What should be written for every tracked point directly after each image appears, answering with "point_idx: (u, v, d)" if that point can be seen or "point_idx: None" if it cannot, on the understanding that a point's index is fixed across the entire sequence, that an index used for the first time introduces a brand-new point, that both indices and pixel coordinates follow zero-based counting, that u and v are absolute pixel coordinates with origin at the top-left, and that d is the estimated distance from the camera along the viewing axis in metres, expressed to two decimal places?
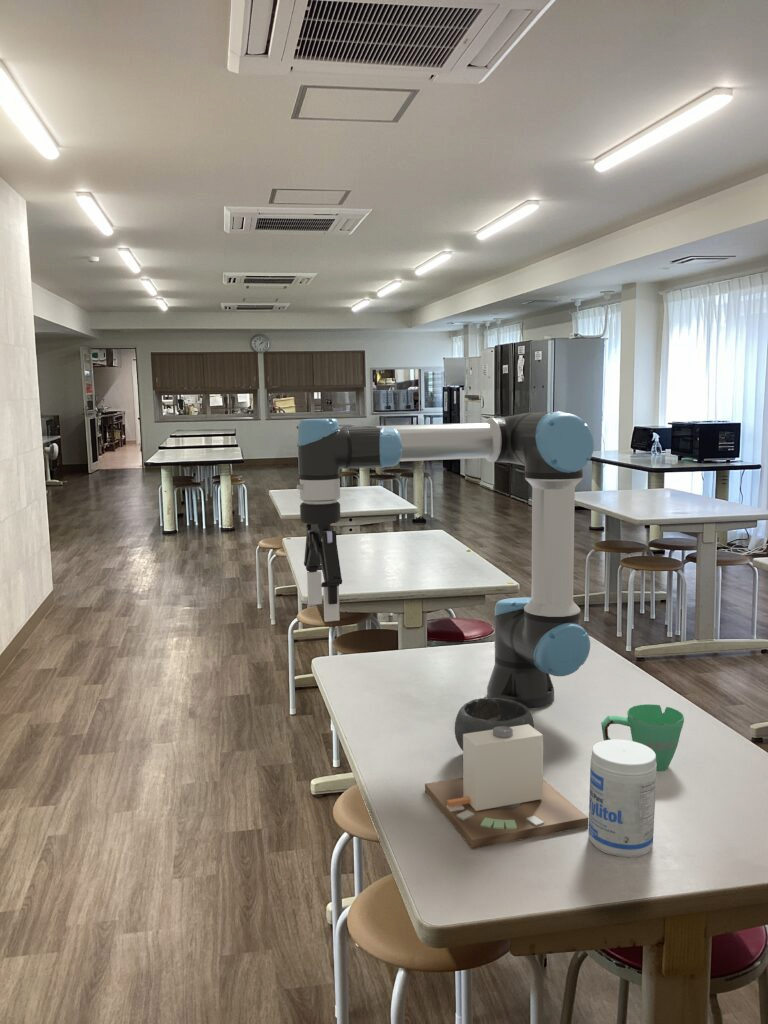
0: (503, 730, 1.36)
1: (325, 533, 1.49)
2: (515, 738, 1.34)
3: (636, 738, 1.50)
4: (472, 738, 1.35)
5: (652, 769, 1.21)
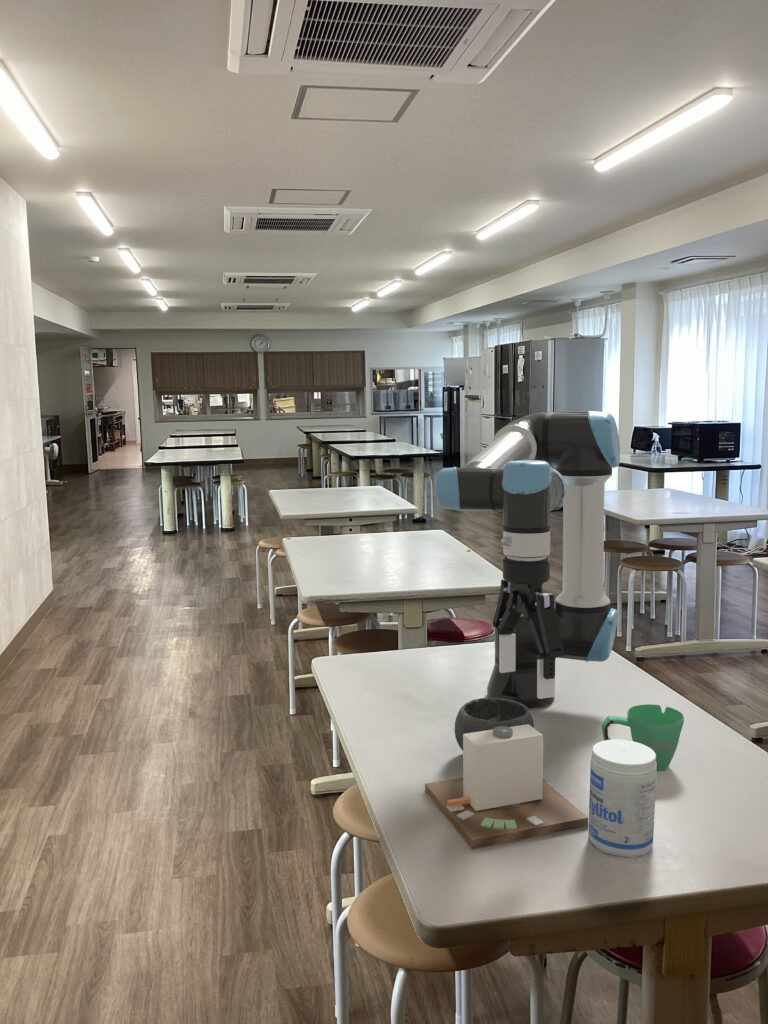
0: (503, 730, 1.36)
1: (542, 596, 1.28)
2: (515, 738, 1.34)
3: (636, 738, 1.50)
4: (472, 738, 1.35)
5: (652, 769, 1.21)
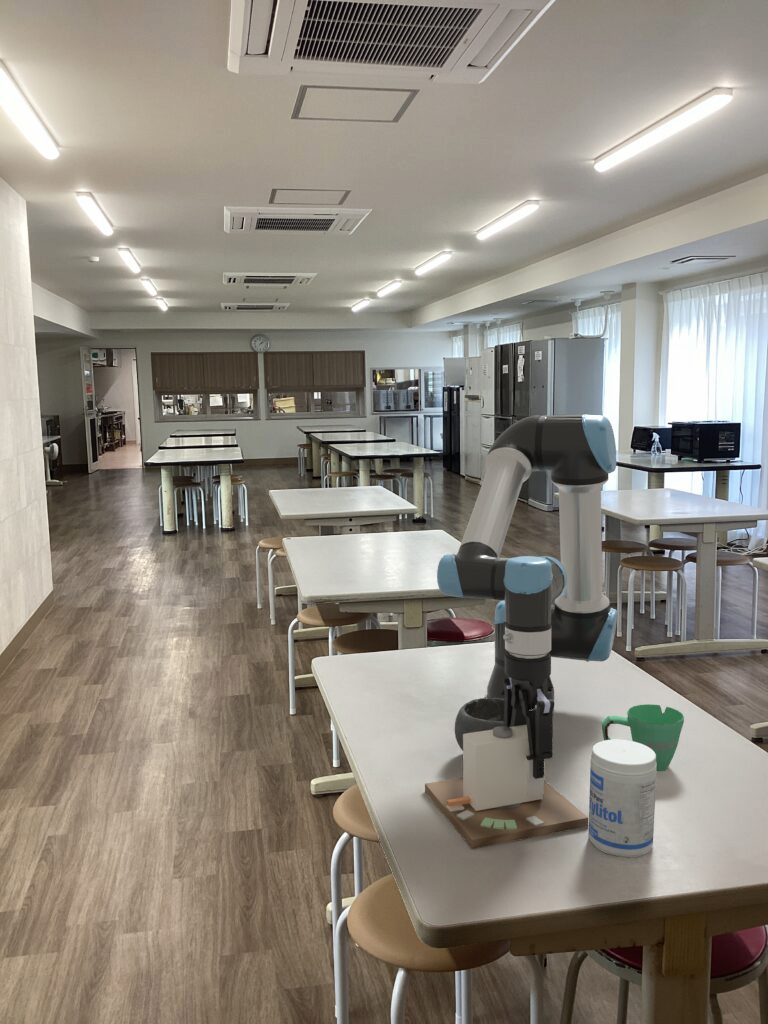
0: (503, 730, 1.36)
1: (543, 705, 1.30)
2: (515, 738, 1.34)
3: (636, 738, 1.50)
4: (472, 738, 1.35)
5: (652, 769, 1.21)
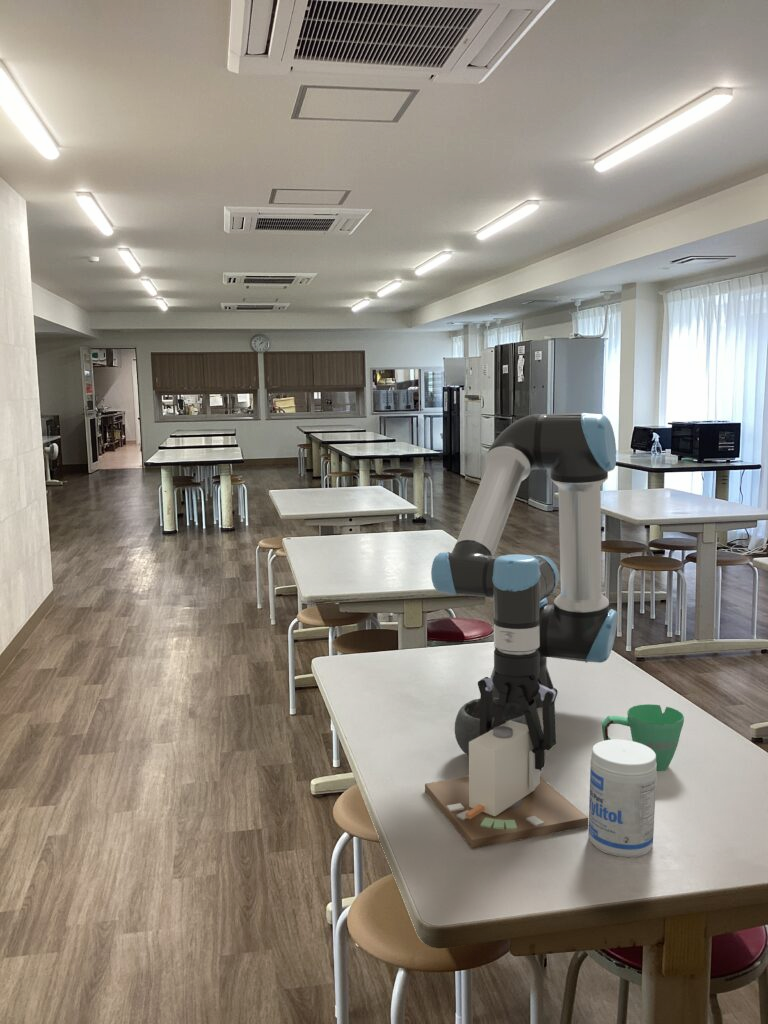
0: (504, 730, 1.36)
1: (553, 695, 1.34)
2: (517, 735, 1.36)
3: (636, 738, 1.50)
4: (483, 744, 1.32)
5: (652, 769, 1.21)
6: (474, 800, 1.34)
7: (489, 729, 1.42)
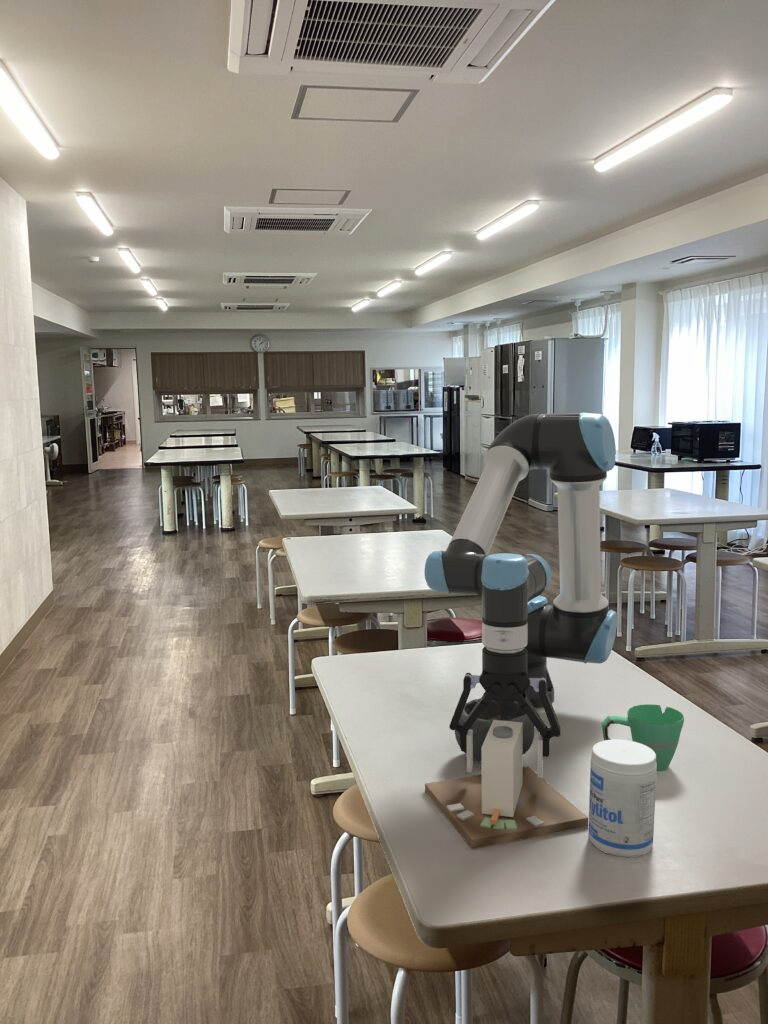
0: (504, 730, 1.36)
1: (545, 682, 1.37)
2: (516, 732, 1.37)
3: (636, 738, 1.50)
4: (496, 747, 1.31)
5: (652, 769, 1.21)
6: (488, 805, 1.32)
7: (457, 722, 1.42)
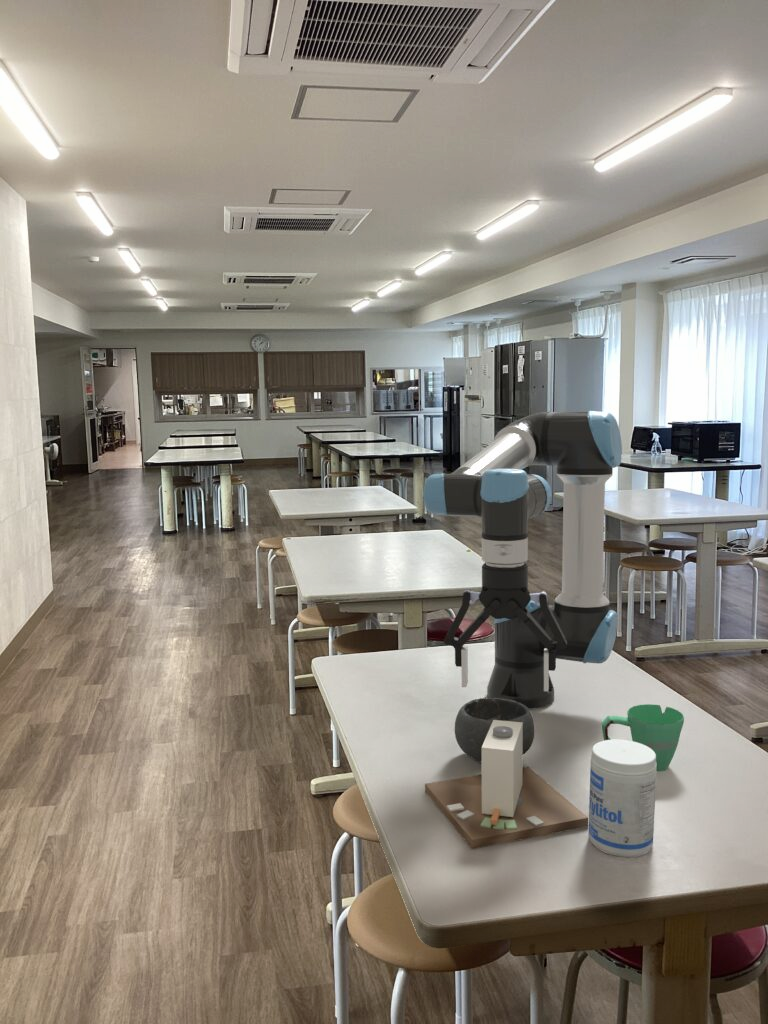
0: (504, 730, 1.36)
1: (545, 595, 1.35)
2: (516, 732, 1.37)
3: (636, 738, 1.50)
4: (496, 747, 1.31)
5: (652, 769, 1.21)
6: (488, 805, 1.32)
7: None
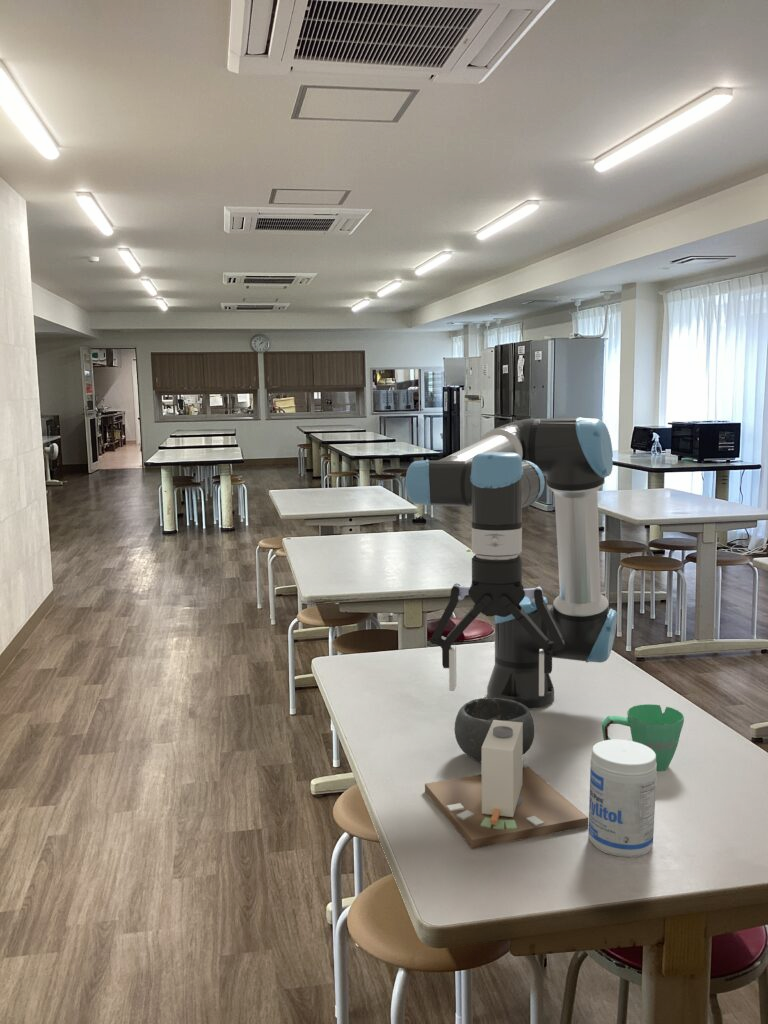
0: (504, 730, 1.36)
1: (541, 590, 1.24)
2: (516, 732, 1.37)
3: (636, 738, 1.50)
4: (496, 747, 1.31)
5: (652, 769, 1.21)
6: (488, 805, 1.32)
7: None
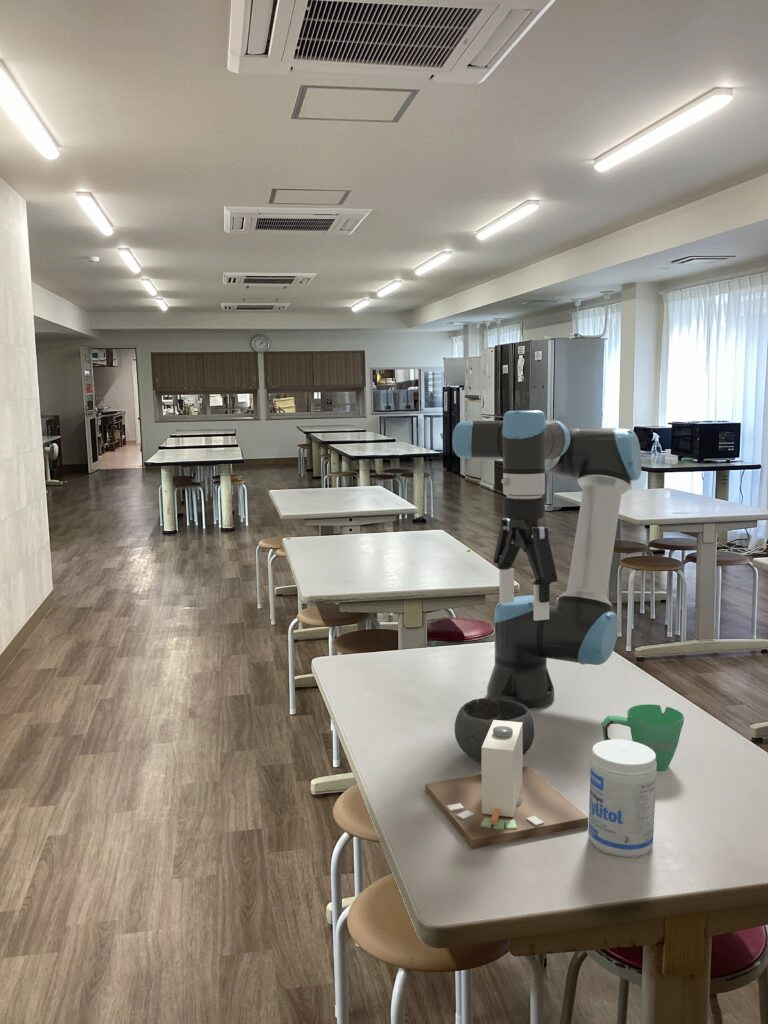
0: (504, 730, 1.36)
1: (537, 529, 1.44)
2: (516, 732, 1.37)
3: (636, 738, 1.50)
4: (496, 747, 1.31)
5: (652, 769, 1.21)
6: (488, 805, 1.32)
7: None
